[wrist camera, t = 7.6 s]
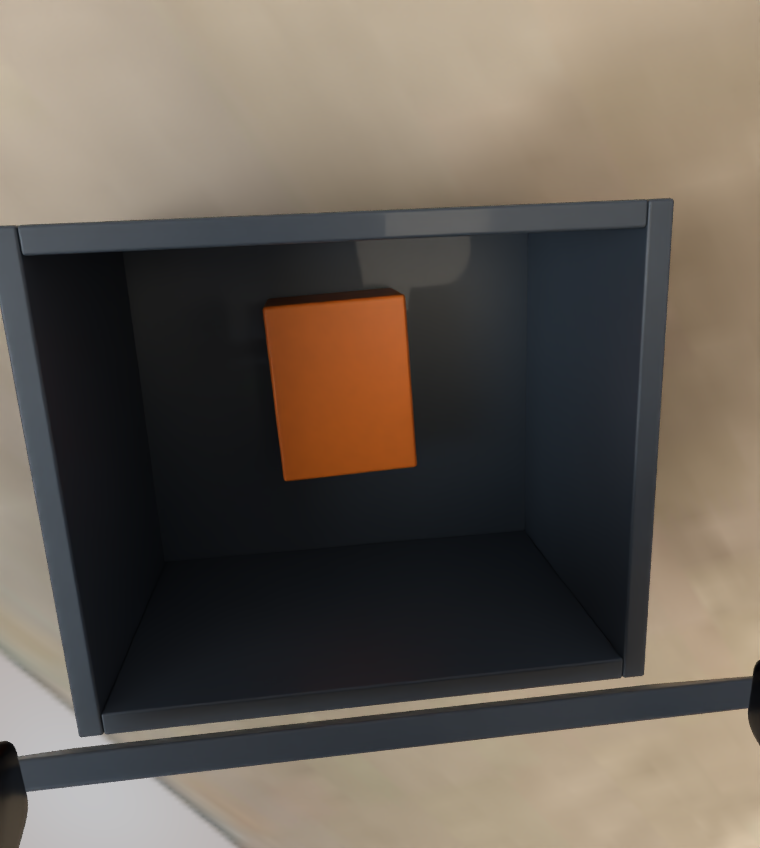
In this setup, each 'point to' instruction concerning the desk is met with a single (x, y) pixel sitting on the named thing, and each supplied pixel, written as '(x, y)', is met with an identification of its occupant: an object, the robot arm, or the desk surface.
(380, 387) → the block
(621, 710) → the panel
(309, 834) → the desk surface
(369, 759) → the desk surface
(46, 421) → the box
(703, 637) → the desk surface
